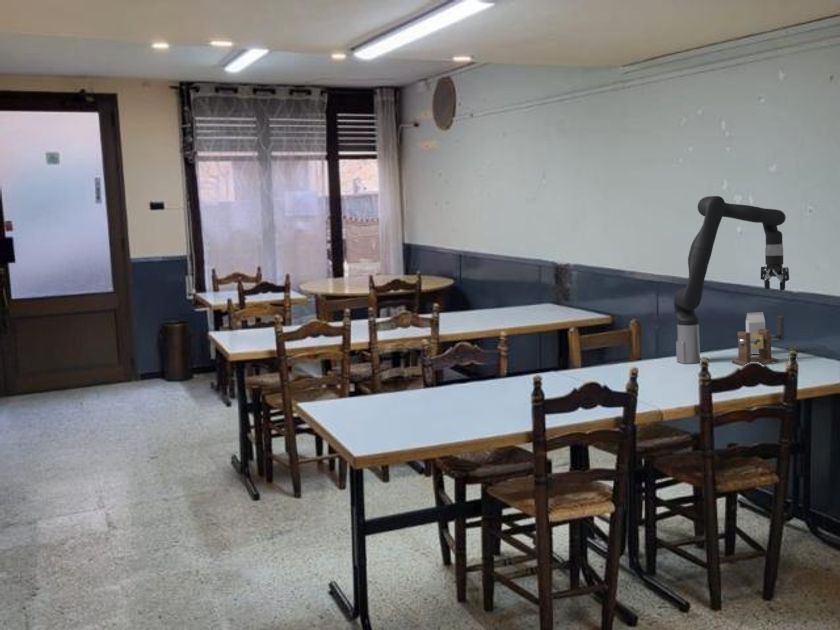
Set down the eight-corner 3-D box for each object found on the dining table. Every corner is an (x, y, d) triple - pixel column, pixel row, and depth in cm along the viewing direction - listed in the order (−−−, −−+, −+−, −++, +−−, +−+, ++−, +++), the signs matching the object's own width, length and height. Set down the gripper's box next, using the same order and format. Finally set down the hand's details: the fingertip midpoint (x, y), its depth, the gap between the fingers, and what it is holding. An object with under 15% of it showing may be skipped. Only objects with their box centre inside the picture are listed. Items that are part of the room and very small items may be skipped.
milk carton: (766, 354, 382) (765, 313, 379) (749, 355, 383) (748, 314, 381) (762, 351, 389) (761, 311, 386) (746, 352, 390) (745, 312, 388)
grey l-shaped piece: (742, 344, 361) (741, 321, 360) (738, 343, 364) (737, 320, 363) (784, 339, 366) (783, 316, 365) (779, 338, 369) (779, 316, 368)
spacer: (760, 348, 362) (760, 335, 361) (752, 346, 368) (751, 333, 367) (763, 348, 362) (763, 334, 362) (755, 346, 368) (754, 333, 367)
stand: (745, 366, 359) (744, 334, 357) (732, 363, 369) (730, 331, 367) (778, 362, 362) (777, 330, 361) (764, 359, 372) (763, 327, 370)
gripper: (755, 254, 386) (756, 289, 388) (780, 255, 373) (781, 291, 375) (768, 253, 389) (768, 288, 391) (793, 253, 376) (793, 289, 378)
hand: (774, 289), depth 383 cm, fingers open, 8 cm apart
